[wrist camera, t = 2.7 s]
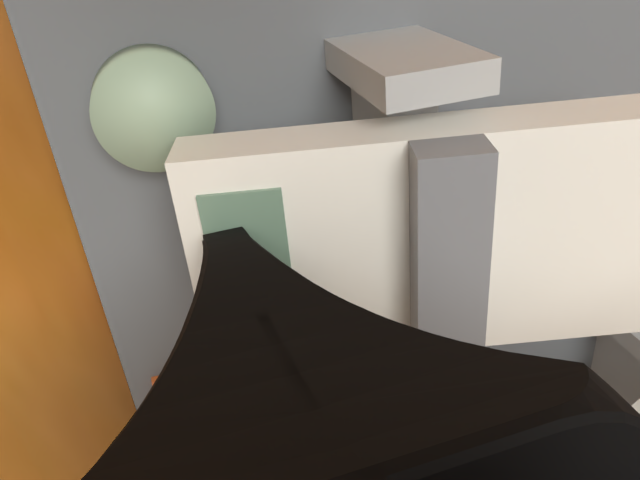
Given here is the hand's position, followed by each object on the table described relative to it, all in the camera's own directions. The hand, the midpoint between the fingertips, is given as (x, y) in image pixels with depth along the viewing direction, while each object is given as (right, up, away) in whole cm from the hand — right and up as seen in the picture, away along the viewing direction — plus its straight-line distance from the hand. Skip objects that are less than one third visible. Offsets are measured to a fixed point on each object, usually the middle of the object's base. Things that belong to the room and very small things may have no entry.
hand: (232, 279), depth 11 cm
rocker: (+4, +1, +1) cm, 4 cm away
